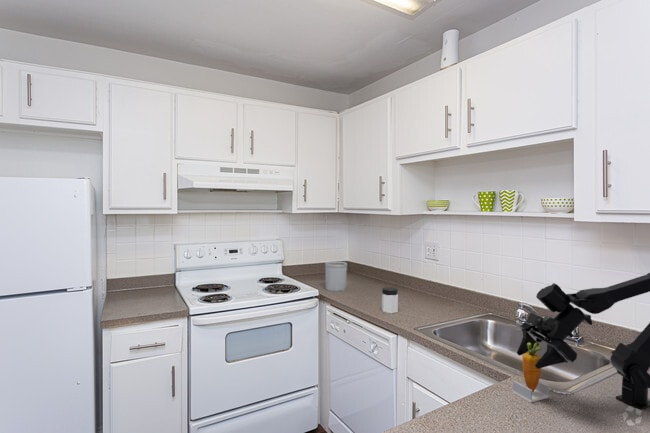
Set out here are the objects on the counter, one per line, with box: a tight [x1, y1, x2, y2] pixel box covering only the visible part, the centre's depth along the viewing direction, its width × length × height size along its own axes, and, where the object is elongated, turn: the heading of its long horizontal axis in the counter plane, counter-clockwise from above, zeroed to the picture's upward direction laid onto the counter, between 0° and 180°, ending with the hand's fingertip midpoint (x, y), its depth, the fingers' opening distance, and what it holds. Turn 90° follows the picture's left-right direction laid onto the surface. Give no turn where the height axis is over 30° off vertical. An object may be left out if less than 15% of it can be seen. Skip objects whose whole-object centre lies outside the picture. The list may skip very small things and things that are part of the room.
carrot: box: [521, 342, 542, 392], centre depth 108 cm, size 5×5×15 cm
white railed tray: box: [512, 380, 550, 403], centre depth 108 cm, size 7×6×4 cm
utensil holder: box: [324, 261, 348, 292], centre depth 246 cm, size 15×15×18 cm
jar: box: [381, 286, 399, 314], centre depth 195 cm, size 9×8×12 cm
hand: (526, 360), depth 108 cm, fingers open, 9 cm apart
